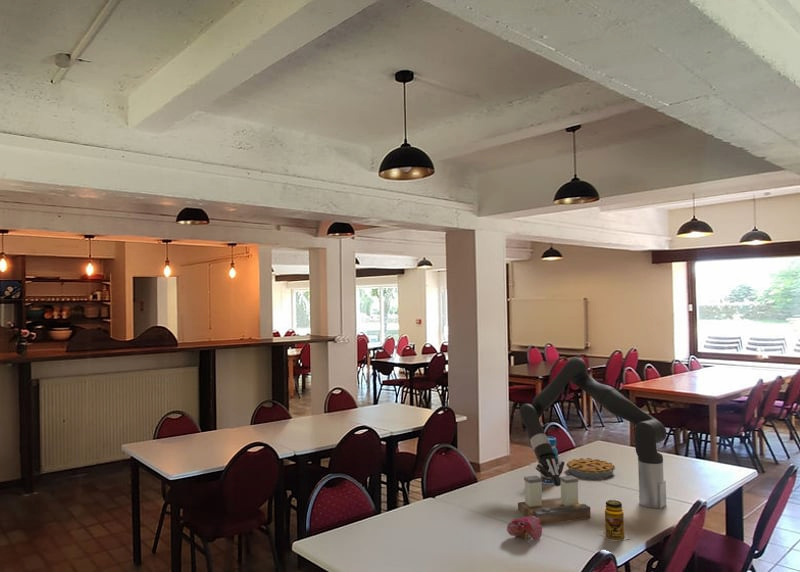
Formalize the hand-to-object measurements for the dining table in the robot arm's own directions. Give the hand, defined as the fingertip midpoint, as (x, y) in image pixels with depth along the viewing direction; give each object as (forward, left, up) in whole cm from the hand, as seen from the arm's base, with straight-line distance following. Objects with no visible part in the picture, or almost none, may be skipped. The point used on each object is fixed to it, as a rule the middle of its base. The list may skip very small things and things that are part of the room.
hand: (558, 485), depth 230 cm
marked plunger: (-6, +3, -5) cm, 9 cm away
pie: (+12, -51, -9) cm, 54 cm away
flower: (-7, +36, -9) cm, 38 cm away
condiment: (-28, +14, -9) cm, 33 cm away
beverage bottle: (+19, -25, -9) cm, 33 cm away
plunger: (+4, +12, -5) cm, 14 cm away
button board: (-2, +9, -8) cm, 12 cm away
